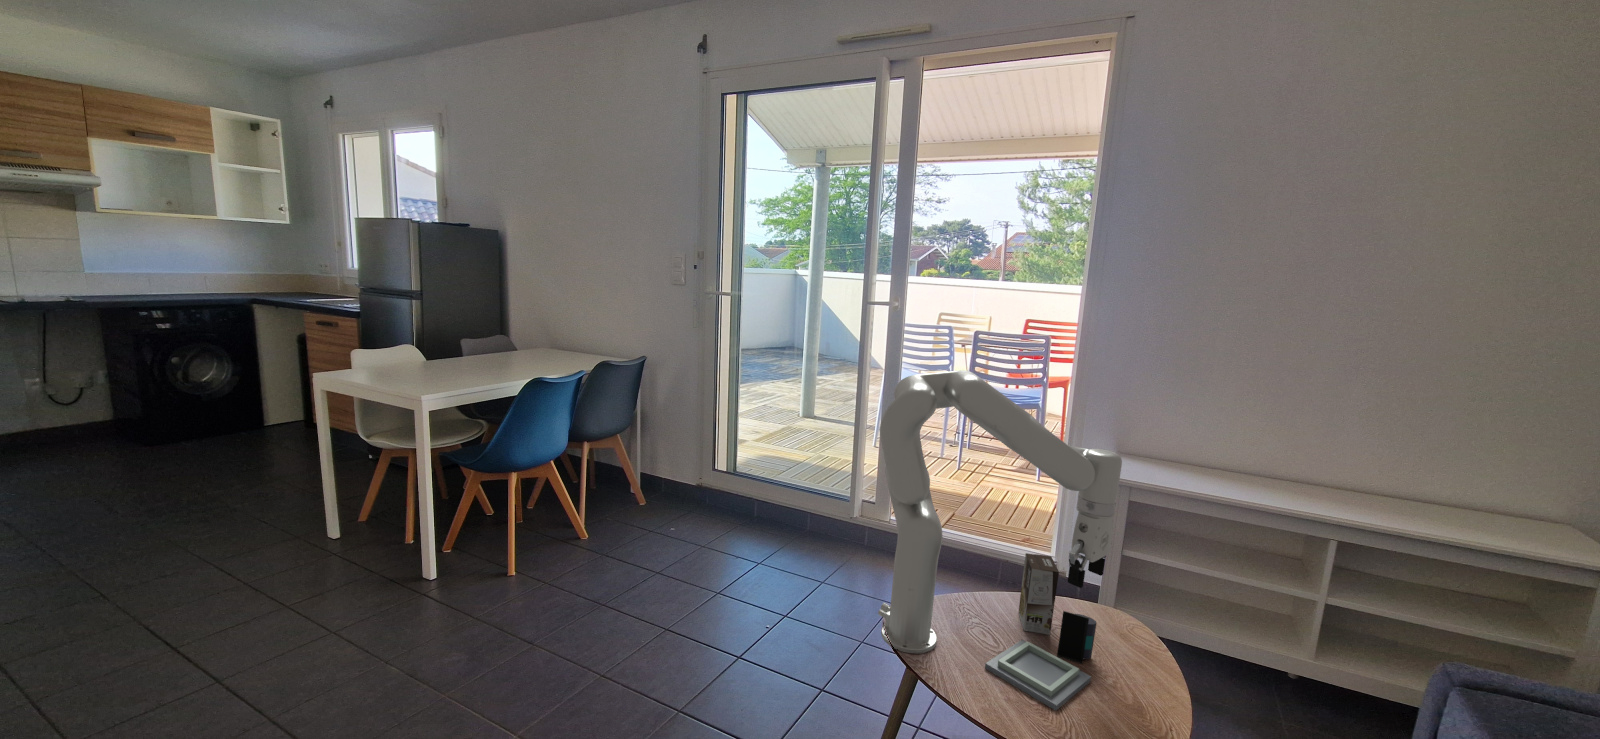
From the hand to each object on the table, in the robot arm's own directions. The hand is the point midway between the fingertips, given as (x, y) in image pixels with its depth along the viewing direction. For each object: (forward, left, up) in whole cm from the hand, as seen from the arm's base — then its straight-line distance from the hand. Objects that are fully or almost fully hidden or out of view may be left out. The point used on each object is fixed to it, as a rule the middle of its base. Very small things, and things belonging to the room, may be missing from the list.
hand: (1085, 578), depth 137 cm
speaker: (0, 0, -18) cm, 18 cm away
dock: (-1, -15, -18) cm, 23 cm away
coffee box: (-12, +4, -18) cm, 22 cm away
